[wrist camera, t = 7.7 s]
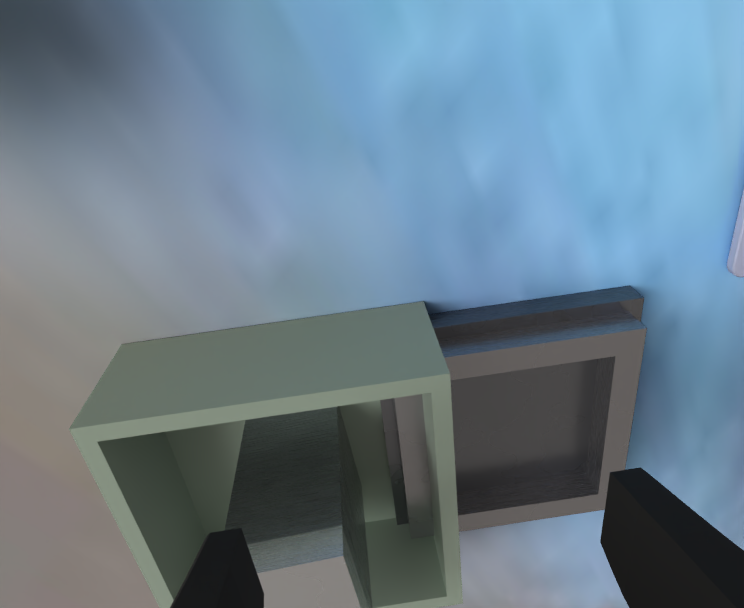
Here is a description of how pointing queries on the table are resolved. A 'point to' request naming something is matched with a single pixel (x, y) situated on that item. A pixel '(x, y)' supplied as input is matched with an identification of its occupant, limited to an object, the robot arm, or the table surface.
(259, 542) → the grey plug block
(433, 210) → the table surface
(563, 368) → the socket block
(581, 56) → the table surface
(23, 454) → the table surface
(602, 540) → the robot arm
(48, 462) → the table surface
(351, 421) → the bin
